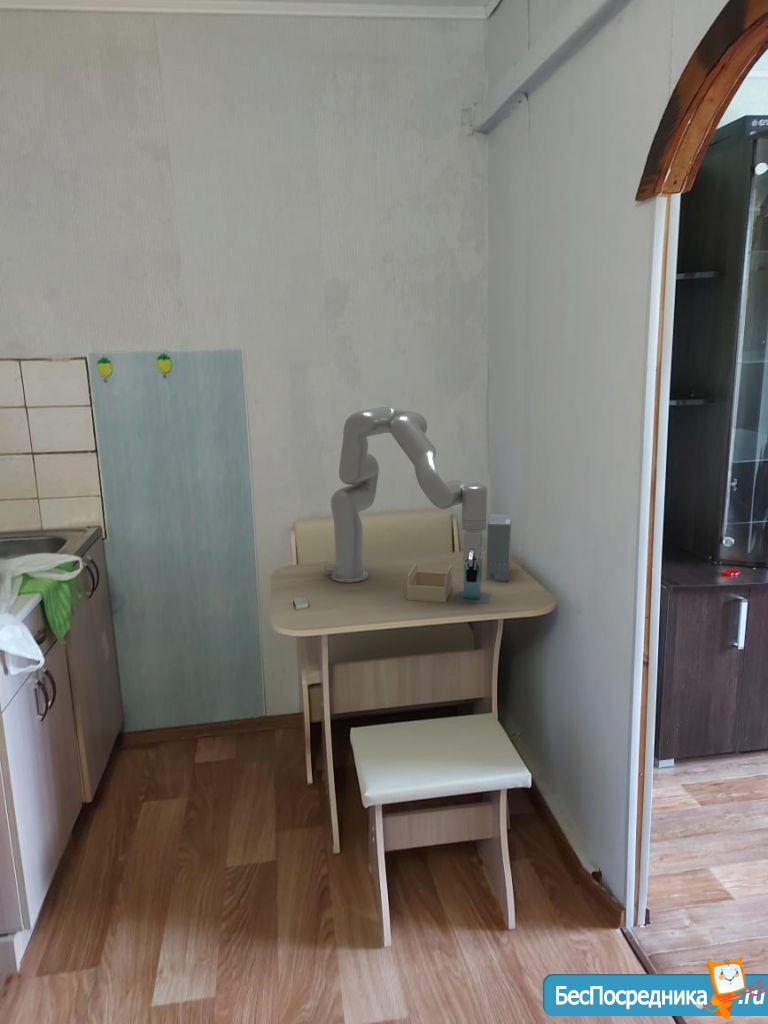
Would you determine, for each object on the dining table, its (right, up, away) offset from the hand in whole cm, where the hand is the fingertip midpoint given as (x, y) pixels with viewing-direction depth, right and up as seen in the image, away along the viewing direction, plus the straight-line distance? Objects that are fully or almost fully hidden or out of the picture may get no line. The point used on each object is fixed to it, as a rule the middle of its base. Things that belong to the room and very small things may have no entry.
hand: (473, 576), depth 236 cm
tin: (0, -6, +2) cm, 7 cm away
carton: (-13, -6, +7) cm, 16 cm away
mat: (0, -7, +2) cm, 7 cm away
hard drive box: (+12, -2, +25) cm, 28 cm away
